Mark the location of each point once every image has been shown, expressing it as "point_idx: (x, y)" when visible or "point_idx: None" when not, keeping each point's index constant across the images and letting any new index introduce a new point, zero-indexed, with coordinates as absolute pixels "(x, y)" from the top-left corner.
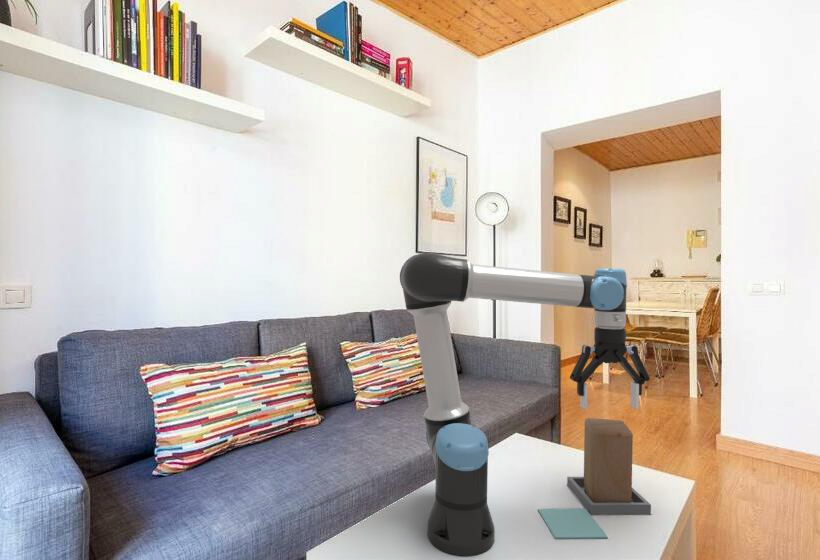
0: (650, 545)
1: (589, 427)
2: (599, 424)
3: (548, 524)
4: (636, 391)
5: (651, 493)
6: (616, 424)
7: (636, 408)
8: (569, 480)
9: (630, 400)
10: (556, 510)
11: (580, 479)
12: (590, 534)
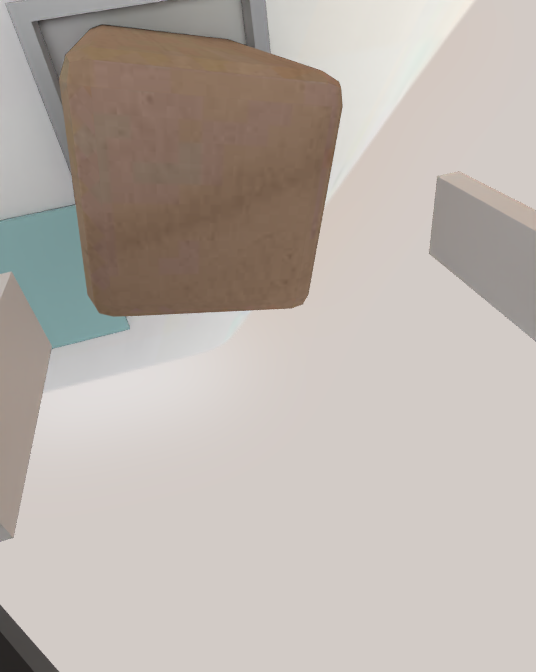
0: (220, 326)
1: (84, 248)
2: (153, 234)
3: None
4: (522, 324)
5: (345, 35)
6: (267, 208)
7: (434, 255)
8: (18, 35)
9: (464, 191)
10: None
11: (72, 14)
12: (86, 331)
